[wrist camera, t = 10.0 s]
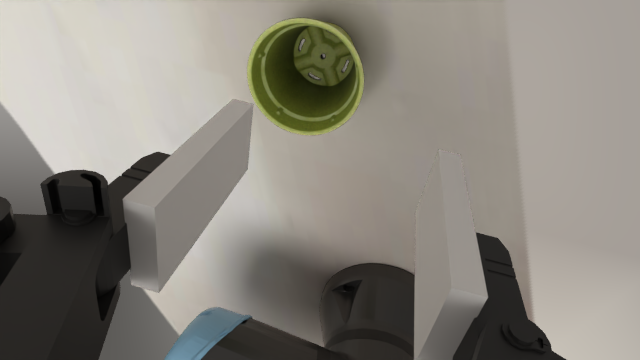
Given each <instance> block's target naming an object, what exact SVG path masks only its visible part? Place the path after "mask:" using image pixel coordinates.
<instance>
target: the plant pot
mask: <svg viewBox="0 0 640 360" xmlns="http://www.w3.org/2000/svg"><path fill="white" fill-rule="evenodd" d="M327 31H329V32H331V33H329V32H327ZM332 33H333V34H332ZM302 39H305V42H304V44H303V46H302V48H301V52H299V50H298V48H299V45H300V42H301V40H302ZM321 54H325V56H326V57H325V59H322V58H321ZM346 60H349V64H348V66H347V69H346V71H345V72H343V73H342V72H341V70H342V69H343V67H344V65H345V63H346ZM308 73H311V74H313V75H314V76H316V77H318V78H321V80H315V79H313V78H311V77H310V76H309V75H308ZM247 79H248V85H249V89H250V92H251V95H252V97H253V99H254V101H255V103H256V105H257V106H258V108H259V109H260V111H261V112H262V113H263V114H264V115H265V116H266V117H267V118H268V119H269V120H270V121H271V122H273V123H274V124H275V125H277V126H278V127H280V128H282V129H284V130H286V131H289V132H292V133H295V134H300V135H320V134H325V133H328V132H331V131H333V130H335V129H337V128H338V127H340V126H341V125H343V124H344V123H345V122H346V121H348V120H349V119H350V117H351V116H352V115H353V114H354V112H355V111H356V109H357V107H358V105H359V103H360V100H361V98H362V94H363V89H364V72H363V66H362V63H361V60H360V57H359V55H358V53H357V51H356V49H355V47H354V45H353V42H352V40H351V38H350V36H349V35H348V34H347V33H346V32H345V31H344V30H343V29H342V28H341V27H339V26H337V25H335V24H332V23H328V22H322V21H319V20H315V19H310V18H292V19H287V20H284V21H281V22H278V23H276V24H274V25H273V26H271V27H270V28H268V29H267V30H266V31H264V32H263V33H262V34H261V35H260V37H259V38H258V39H257V41H256V42H255V44H254V46H253V48H252V50H251V53H250V56H249V59H248V65H247Z"/></svg>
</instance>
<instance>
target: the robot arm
mask: <svg viewBox="0 0 640 360" xmlns="http://www.w3.org/2000/svg"><path fill="white" fill-rule="evenodd" d="M252 114H253V104H252V103H247V102H243V101H239V100H235V99H232V100H231V101H230V102H229V103H228V104H227V105H226V106H225V107H224V108H222V109H221V110H220V111H219V112H218V113H217V114H216V115H215V116H214V117H213V118H211V119H210V120H209V121H208V122H207V123H206V124H205V125H204V126H203V127H201V128H200V129H199V130H198V131H197V132H196V133H195V134H194V135H193V136H192V137H190V138H189V139H188V140H187V141H186V142H185V143H184V144H183V145H182V146H180V147H179V148H178V149H177V150H176V151H175V152H174V153H173V154H172V155H169V154H165V153H161V152H156V153H153V154H150V155H148V156H145V157H143V158H141V159H140V160H138V161H137V162H136V163H135V164H134V165H132V166H131V168H130V169H127V170H126V171H125V172H124V173H123V174H122V176H119V177H118V178H116V179H115V180H114V181H113V182H112V183H110V184H109V185H108V182H107V180H106V179H105V178H104V176H102V175H100V174H98V173H96V172H93V171H87V170H70V171H66V172H61V173H58V174H55V175H53V176H51V177H49V178H47V179H46V180H45V181H43V182H42V183H41V188H42V193H43V197H44V202H45V206H46V210H47V215H25V214H13V211H12V207H11V204H10V203H9V202H8V201H7V199H5V198H2V197H0V360H98V359H99V356H100V353H101V350H102V347H103V344H104V341H105V338H106V335H107V332H108V329H109V326H110V323H111V320H112V317H113V314H114V311H115V308H116V305H117V302H118V299H119V296H120V280H121V279H122V278H123V276H124V275H125V274H126V273H127V272H128V271H129V269H130V277H131V285H133V286H137V287H140V288H144V289H147V290H151V291H154V292H158V293H159V292H160V291H161V289H162V288H163V287H164V285H165V284H166V282H167V281H168V280H169V278H170V277H171V275H172V274H173V273H174V271H175V270H176V268H177V267H178V266H179V264H180V263H181V261H182V260H183V259H184V257H185V256H186V254H187V253H188V252H189V250H190V249H191V248H192V246H193V245H194V243H195V242H196V241H197V239H198V238H199V236H200V235H201V234H202V232H203V231H204V229H205V228H206V227H207V225H208V224H209V222H210V221H211V220H212V218H213V217H214V215H215V214H216V213H217V211H218V210H219V208H220V207H221V206H222V204H223V203H224V201H225V200H226V199H227V197H228V196H229V194H230V193H231V192H232V190H233V189H234V187H235V186H236V185H237V183H238V182H239V181H240V179H241V178H242V176H243V175H244V174H245V172H246V171H247V169H248V158H249V147H250V136H251V125H252ZM512 266H513V265H512V261H511V258H510V254H509V252H508V250H507V249H506V248H505V246H504V245H503V244H502V243H501V241H500V240H499V239H498V238H495V237H491V236H487V235H484V234H480V233H476V232H475V226H474V221H473V216H472V211H471V206H470V200H469V195H468V190H467V185H466V180H465V174H464V169H463V164H462V159H461V154H457V153H453V152H449V151H444V150H440V149H438V152H437V155H436V157H435V160H434V163H433V165H432V168H431V171H430V174H429V176H428V179H427V182H426V185H425V187H424V190H423V193H422V195H421V198H420V201H419V204H418V206H417V209H416V212H415V276H413V275H412V274H410V273H408V272H406V271H404V270H401V269H399V268H395V267H392V266H387V265H381V264H363V265H357V266H353V267H349V268H347V269H344V270H342V271H340V272H339V273H337V274H336V275H334V276H333V277H332V278H331V279H330V280H329V282H328V283H327V284H326V286H325V288H324V291H323V295H322V299H321V303H320V321H321V328H322V335H323V342H324V347H321V346H319V345H316V344H314V343H311V342H309V341H306V340H304V339H301V338H299V337H296V336H294V335H291V334H289V333H287V332H284V331H282V330H279V329H277V328H274V327H272V326H269V325H267V324H264V323H262V322H259V321H257V320H254V319H252V316H250V315H245V316H244V315H241V314H238V313H235V312H232V311H229V310H226V309H223V308H219V307H214V308H210V309H207V310H205V311H203V312H202V313H200V314H199V315H198V316H197V317H196V318H195V319H194V320H193V321H192V322H191V323H190V324H189V325H188V327H187V328H186V329H185V330H184V332H183V333H182V334H181V335H180V337H179V338H178V340H177V341H176V343H175V344H174V345H173V347H172V348H171V350H170V351H169V353H168V354H167V356H166V357H165V359H164V360H566V359H564V358H563V357H561V356H559V355H558V354H556V353H554V352H553V351H552V350H551V344H550V342H549V340H548V339H547V337H546V335H545V333H544V332H543V331H542V330H541V329H540V328H539V327H538V326H536V324H535V323H533V322H532V321H530V320H528V318H527V314H526V311H525V307H524V304H523V300H522V297H521V293H520V290H519V286H518V283H517V280H516V279H515V278H516V276H515V272H514V268H512Z"/></svg>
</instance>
